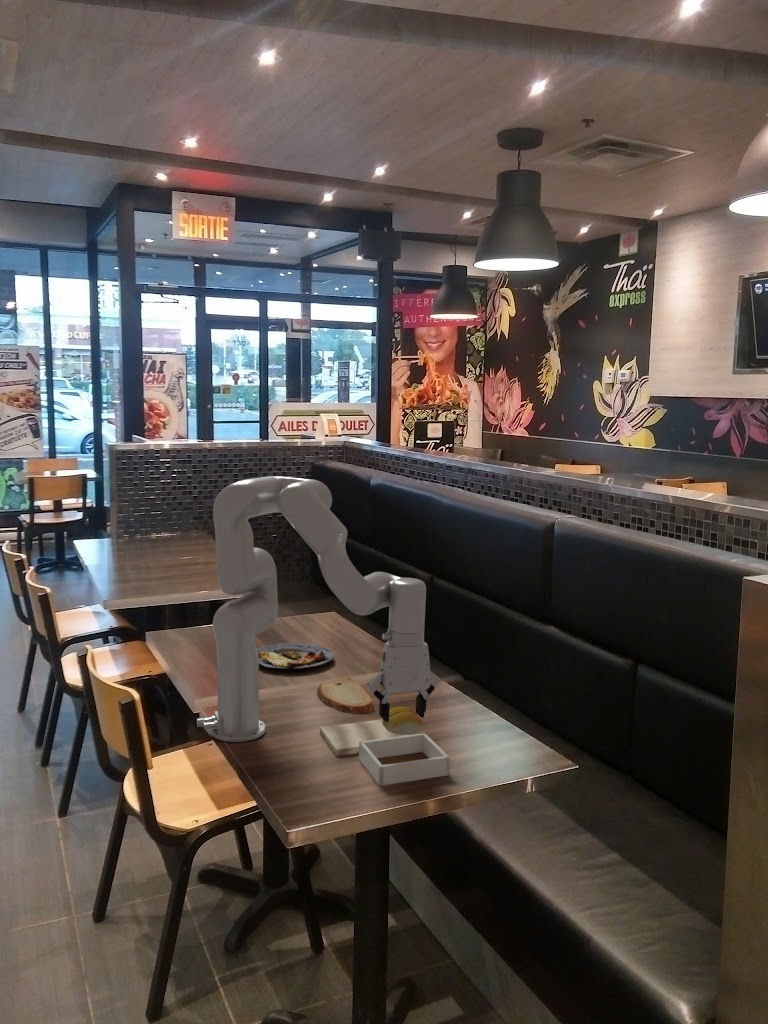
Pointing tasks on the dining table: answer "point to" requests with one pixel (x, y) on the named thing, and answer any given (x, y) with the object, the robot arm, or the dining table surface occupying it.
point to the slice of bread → (345, 696)
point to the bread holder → (404, 770)
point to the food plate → (293, 656)
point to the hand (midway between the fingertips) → (402, 716)
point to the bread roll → (402, 721)
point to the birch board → (353, 735)
